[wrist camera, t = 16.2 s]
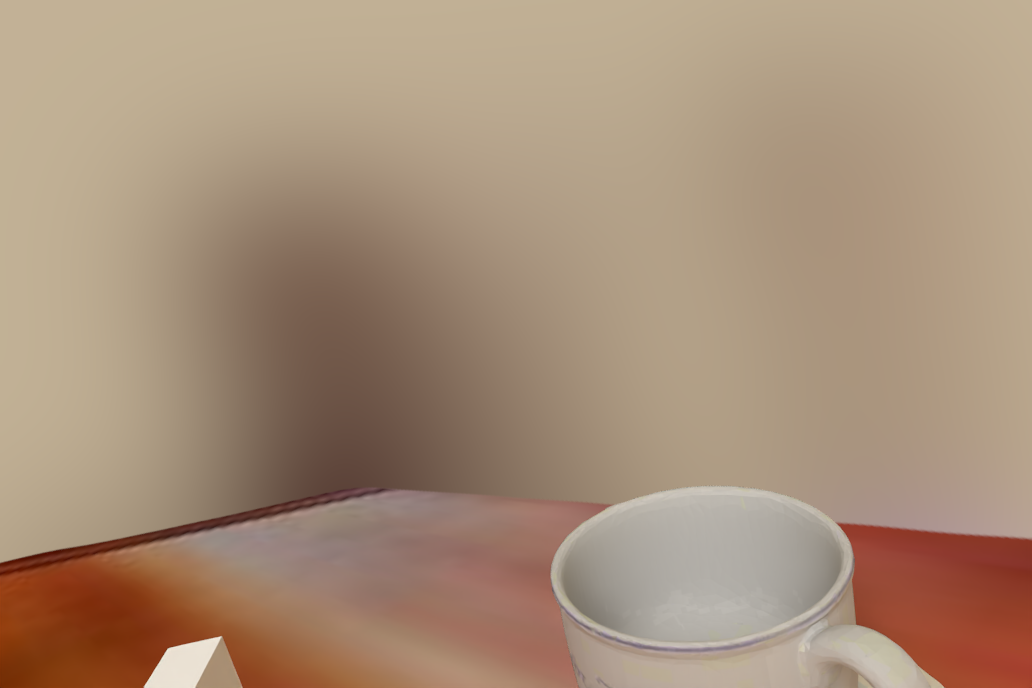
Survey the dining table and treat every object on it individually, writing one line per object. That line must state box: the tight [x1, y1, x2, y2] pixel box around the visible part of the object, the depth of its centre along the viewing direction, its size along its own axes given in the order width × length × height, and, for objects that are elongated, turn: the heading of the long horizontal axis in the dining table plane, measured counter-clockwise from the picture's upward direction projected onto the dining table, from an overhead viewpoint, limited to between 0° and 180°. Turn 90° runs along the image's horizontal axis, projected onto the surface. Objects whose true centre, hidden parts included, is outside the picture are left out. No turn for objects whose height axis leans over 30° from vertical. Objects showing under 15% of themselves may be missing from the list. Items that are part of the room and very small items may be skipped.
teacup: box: [551, 486, 931, 688], centre depth 26 cm, size 14×11×8 cm
